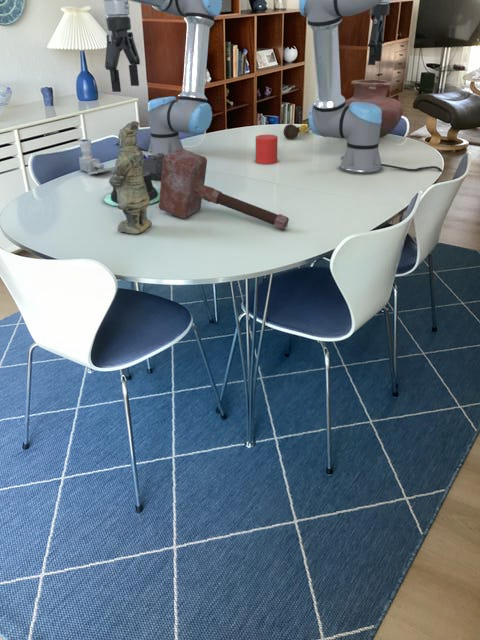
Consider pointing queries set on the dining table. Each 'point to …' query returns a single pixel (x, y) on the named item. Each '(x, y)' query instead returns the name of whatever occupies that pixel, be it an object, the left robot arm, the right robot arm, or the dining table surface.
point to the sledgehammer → (200, 190)
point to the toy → (154, 165)
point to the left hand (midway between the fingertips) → (126, 88)
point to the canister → (266, 149)
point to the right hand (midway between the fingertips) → (374, 63)
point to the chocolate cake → (152, 192)
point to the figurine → (295, 130)
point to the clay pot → (378, 102)
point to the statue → (131, 182)
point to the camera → (90, 159)
